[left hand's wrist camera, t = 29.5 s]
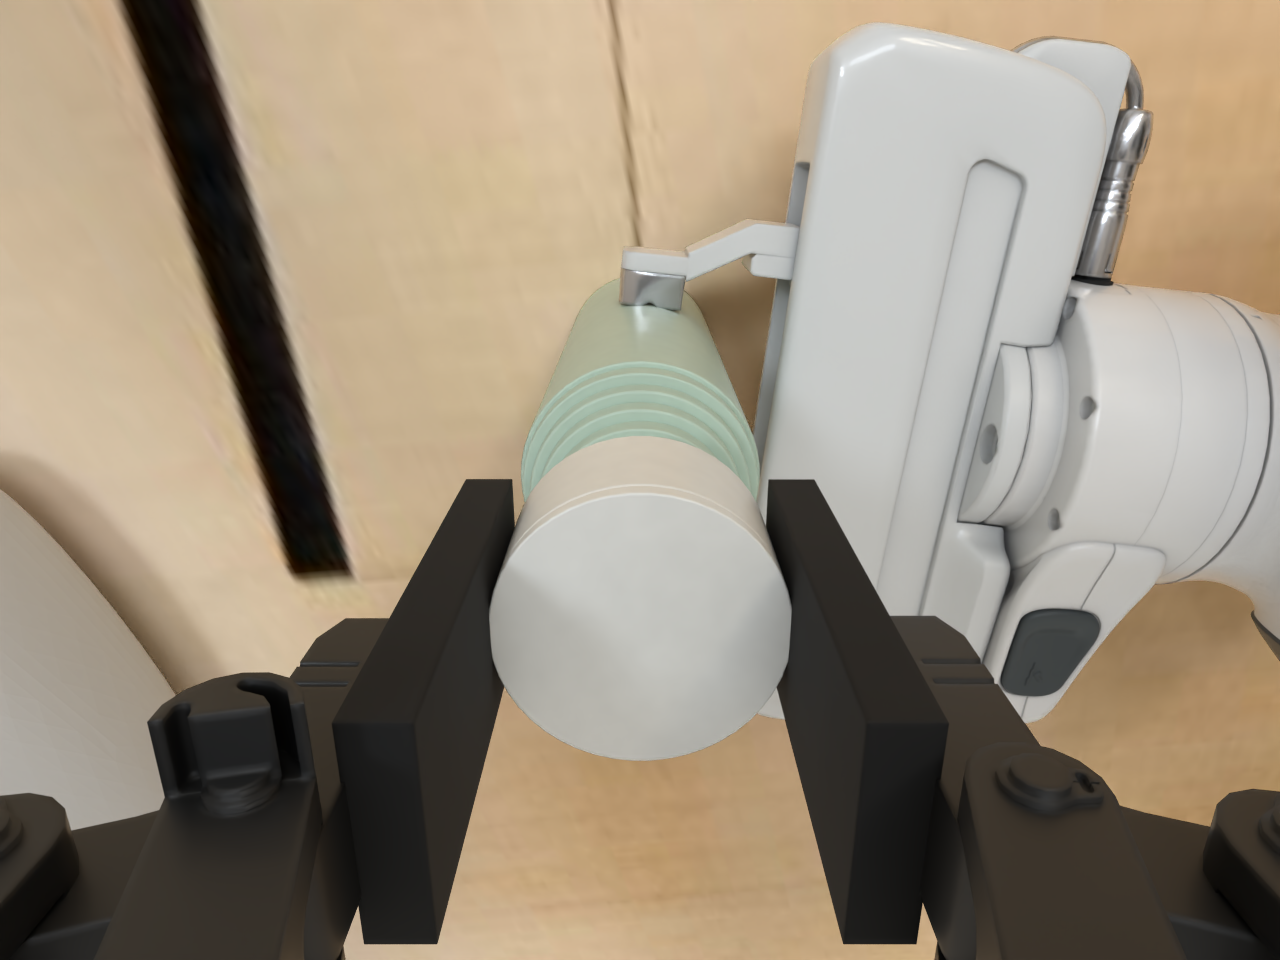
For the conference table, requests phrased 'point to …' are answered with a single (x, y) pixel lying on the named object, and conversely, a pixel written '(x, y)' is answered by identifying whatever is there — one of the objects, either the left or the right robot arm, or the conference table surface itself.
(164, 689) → the projector
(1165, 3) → the conference table surface
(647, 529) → the cap
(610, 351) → the bottle
